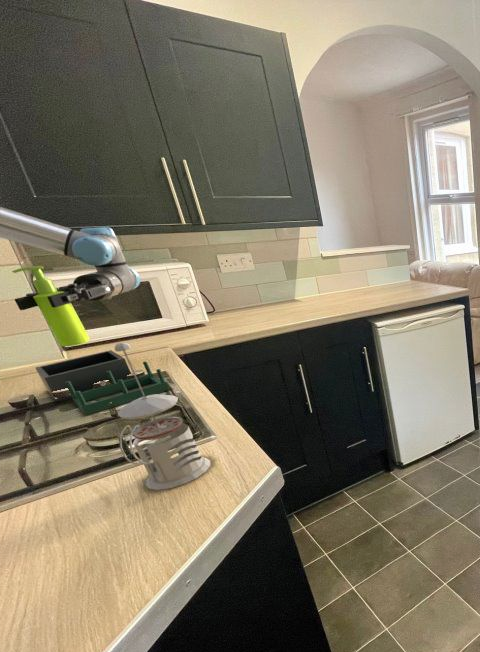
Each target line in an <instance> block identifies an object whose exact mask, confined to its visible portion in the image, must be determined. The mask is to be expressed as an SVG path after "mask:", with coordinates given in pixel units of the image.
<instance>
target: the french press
mask: <svg viewBox="0 0 480 652" xmlns="http://www.w3.org/2000/svg"><path fill="white" fill-rule="evenodd" d="M131 349H132V347H131V345H130V343H128V342H125V341H124V342H118V343H116V344H115V346H114V352H115V353H117V352H123V355H124V356H125V358H126V362H127V364H128V366H129V368H130V369H131V370H130V371H132V372H131V373H132V375H133V377H134V378H136V381H137V383H138V385H139V386H138V387H139V388H140V389H141V392H142V394H143V396H144V397H141V398H139V399H136V400H134V401H132V402H129V403H126V405H124V406H123V407H122V408H121V409H120V410H119V411H118V413H117V416H119V418H121V419H123V420H139V419H144V418H147V417H152V418H153V421H149V422H146V423H144V424H142V425H140V424H136V425H134V426H133V428H131V426H130V425H125V426H124V427H123V429H122V430H121V432H120V435H119V449H120V452H121V454H122V455H123V458H125V459H126V461H128V462H129V463H131V464H133V465H138V466H139V465H143V466H144V468H145V471H146V472H147V474H148V477H147V479H146V481H145V485H144V486H145V487H146V488H147V489H149V490H154V491H161V490H168V489H172V488H176V487H179V486H183V485H185V484H187V483H189V482H191V481H193V480H196V479H198V478H199V477H200V476H202V475H203V474H205V473H206V472H207V471H208V469H209V468H210V467H211V460H209V459H208V458H206V457H203V456H201V452H200V450H199V447H198V446H197V445H196V441H195V439H194V435H193V433H192V431H191V429H190V426H189V425H188V424H186V423H184V418H182V417H181V416H169V417H164V418H160V419H159V418H158V419H156V417H155V415H157V414H160V413H164V412H165V411H167V410H169V409H171V408H173V407H174V406H175V405H177V403H178V400H179V398H178V397H177V396H175V395H172V394H171V395H170V394H160V393H158V394H155V395H149V396H145V394H144V392H143V390H142V388H143V387H142V386H140V383H139V381H138V379H137V377H138V376H137V375H136V372H135V370H134V368H133V366H132V363H131V361H130V359H129V357H128V354H127V352H126V351H128V350H129V351H130V350H131ZM127 428H128V429H129V431H131V432H130V435H129V442H128V443H129V450H130V452H131V453H132V456H133V457H134V458H135V459H136V460H137V461H138V462H135V461H132V460H131V459H130V458H128V456H127V454H126V453H125V451H124V448H123V442H122V441H123V440H122V439H123V434H124V432H125V430H126V429H127ZM169 436H170V438H168V439H166V440H161V441H157V442H149V443H147V442H146V441H154V440H160V439H164V438H166V437H169ZM133 438H134V440H133V441H132V439H133ZM144 441H145V442H146V443H144V444H141V445H139V444H140V443H142V442H144ZM133 445H134V448H135V449H136V452H137V454H138V455H136V453H135V450H134V449H133ZM144 449H147V450H144ZM172 449H173V450H172ZM170 450H172V451H170ZM169 451H170V452H169ZM148 454H149V456H147V455H148ZM176 454H178V455H176ZM174 455H176V456H174ZM138 456H139V457H138ZM173 456H174V457H173ZM151 460H152V461H151ZM150 461H151V462H150Z"/></svg>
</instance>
